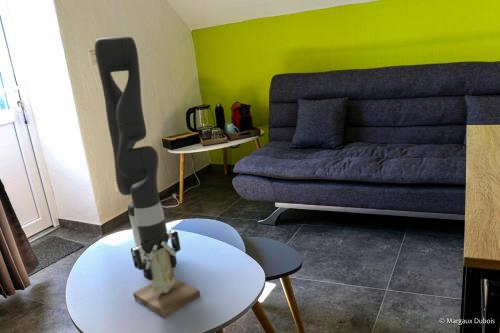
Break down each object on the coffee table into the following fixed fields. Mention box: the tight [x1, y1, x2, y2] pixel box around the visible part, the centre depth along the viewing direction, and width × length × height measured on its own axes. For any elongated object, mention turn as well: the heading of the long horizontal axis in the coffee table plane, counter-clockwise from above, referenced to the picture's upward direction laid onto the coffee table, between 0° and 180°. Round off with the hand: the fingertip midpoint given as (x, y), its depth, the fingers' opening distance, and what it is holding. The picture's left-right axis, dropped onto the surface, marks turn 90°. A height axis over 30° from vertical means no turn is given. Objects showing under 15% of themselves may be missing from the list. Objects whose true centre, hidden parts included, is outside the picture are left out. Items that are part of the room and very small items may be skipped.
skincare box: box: [146, 247, 176, 293], centre depth 121 cm, size 6×4×12 cm
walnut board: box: [132, 277, 201, 319], centre depth 123 cm, size 16×12×2 cm
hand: (161, 273), depth 121 cm, fingers closed on skincare box, 7 cm apart
